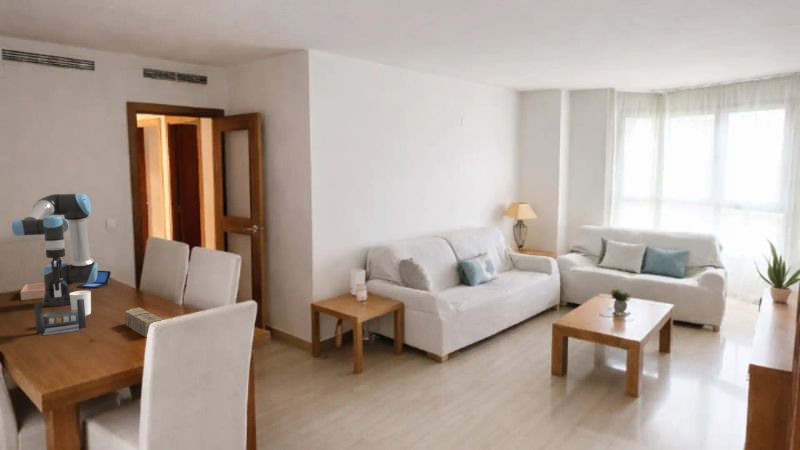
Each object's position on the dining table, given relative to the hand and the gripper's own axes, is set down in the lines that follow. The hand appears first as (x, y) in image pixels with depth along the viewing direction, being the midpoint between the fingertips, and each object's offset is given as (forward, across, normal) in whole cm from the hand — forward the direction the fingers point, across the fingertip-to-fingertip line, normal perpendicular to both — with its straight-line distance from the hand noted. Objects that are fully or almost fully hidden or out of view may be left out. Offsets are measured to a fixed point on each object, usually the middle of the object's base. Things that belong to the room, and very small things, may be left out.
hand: (59, 294), depth 244 cm
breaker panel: (+18, -10, 0) cm, 21 cm away
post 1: (+18, 0, -8) cm, 20 cm away
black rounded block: (+1, 0, 0) cm, 1 cm away
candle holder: (+18, -26, +7) cm, 32 cm away
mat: (+18, 0, 0) cm, 18 cm away
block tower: (+18, +18, +35) cm, 43 cm away
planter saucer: (+18, -89, -16) cm, 92 cm away
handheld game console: (+18, -98, +11) cm, 100 cm away
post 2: (+18, 0, +8) cm, 20 cm away
